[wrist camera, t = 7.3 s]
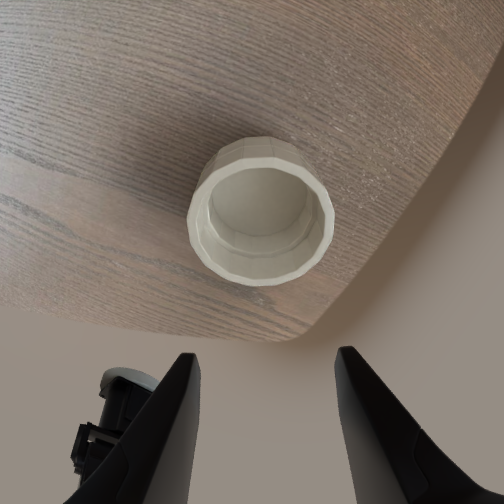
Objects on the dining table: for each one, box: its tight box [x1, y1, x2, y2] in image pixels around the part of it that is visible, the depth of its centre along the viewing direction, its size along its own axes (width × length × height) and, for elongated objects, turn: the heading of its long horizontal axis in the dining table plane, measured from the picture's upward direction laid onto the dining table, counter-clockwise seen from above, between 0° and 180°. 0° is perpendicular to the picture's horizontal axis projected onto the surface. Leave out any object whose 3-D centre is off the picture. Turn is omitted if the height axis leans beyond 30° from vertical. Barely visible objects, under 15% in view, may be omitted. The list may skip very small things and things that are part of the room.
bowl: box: [186, 136, 335, 286], centre depth 17 cm, size 7×7×4 cm
